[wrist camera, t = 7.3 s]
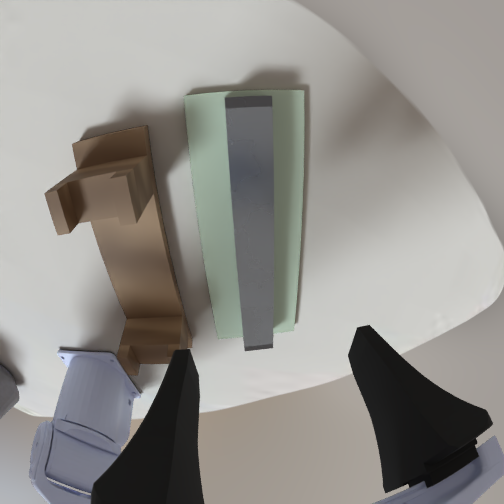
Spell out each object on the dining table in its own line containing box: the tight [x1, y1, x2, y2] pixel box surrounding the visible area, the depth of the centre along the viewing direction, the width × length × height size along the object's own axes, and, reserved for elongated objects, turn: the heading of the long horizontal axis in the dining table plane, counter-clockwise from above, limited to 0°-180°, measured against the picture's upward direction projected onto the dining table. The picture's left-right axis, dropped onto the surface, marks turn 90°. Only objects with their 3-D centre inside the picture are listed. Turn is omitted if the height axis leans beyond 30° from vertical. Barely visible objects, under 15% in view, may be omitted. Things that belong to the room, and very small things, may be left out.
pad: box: [184, 90, 304, 339], centre depth 20 cm, size 20×7×1 cm, turn 2°
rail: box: [224, 95, 274, 351], centre depth 19 cm, size 19×2×2 cm, turn 2°
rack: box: [44, 125, 192, 375], centre depth 18 cm, size 19×5×5 cm, turn 2°
